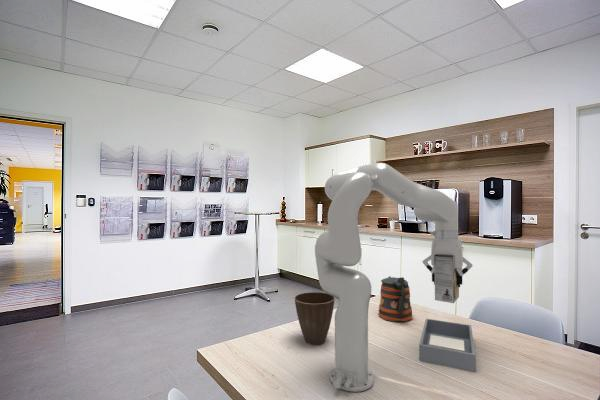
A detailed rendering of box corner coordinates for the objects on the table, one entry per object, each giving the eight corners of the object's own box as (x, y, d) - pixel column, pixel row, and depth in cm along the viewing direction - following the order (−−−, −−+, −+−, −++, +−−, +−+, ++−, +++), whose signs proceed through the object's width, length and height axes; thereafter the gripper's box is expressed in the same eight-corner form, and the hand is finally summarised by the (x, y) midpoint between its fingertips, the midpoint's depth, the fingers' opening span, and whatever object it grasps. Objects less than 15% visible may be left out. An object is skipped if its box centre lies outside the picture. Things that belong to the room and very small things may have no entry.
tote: (475, 375, 92) (475, 355, 92) (419, 363, 99) (419, 344, 99) (471, 341, 115) (471, 325, 115) (425, 333, 122) (425, 318, 122)
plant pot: (289, 347, 110) (289, 302, 111) (299, 330, 125) (299, 290, 125) (331, 351, 107) (331, 305, 107) (337, 334, 121) (336, 293, 122)
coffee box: (440, 294, 116) (440, 251, 117) (459, 297, 112) (459, 252, 113) (434, 300, 109) (433, 254, 109) (454, 303, 105) (453, 256, 105)
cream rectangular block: (464, 367, 95) (464, 350, 95) (429, 360, 99) (429, 344, 99) (463, 355, 102) (463, 340, 102) (430, 349, 106) (430, 334, 106)
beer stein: (423, 326, 130) (423, 278, 130) (389, 327, 128) (389, 278, 128) (403, 310, 149) (403, 268, 149) (374, 311, 147) (374, 269, 147)
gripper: (419, 235, 112) (419, 284, 111) (475, 237, 104) (475, 290, 104) (421, 233, 118) (421, 280, 118) (473, 235, 111) (474, 285, 110)
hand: (446, 284), depth 111 cm, fingers closed on coffee box, 7 cm apart
